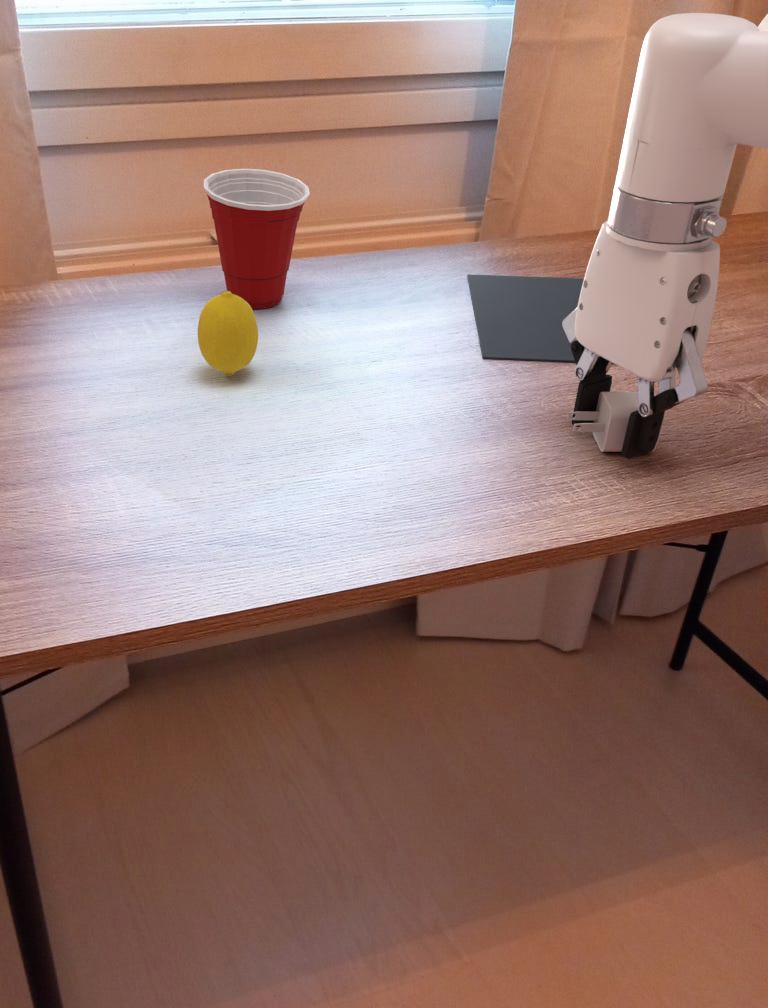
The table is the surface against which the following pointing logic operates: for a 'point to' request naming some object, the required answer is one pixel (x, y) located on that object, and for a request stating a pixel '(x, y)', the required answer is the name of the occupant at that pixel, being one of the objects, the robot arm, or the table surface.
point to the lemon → (227, 333)
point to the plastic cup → (255, 230)
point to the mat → (524, 316)
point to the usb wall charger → (609, 419)
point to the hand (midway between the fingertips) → (612, 435)
